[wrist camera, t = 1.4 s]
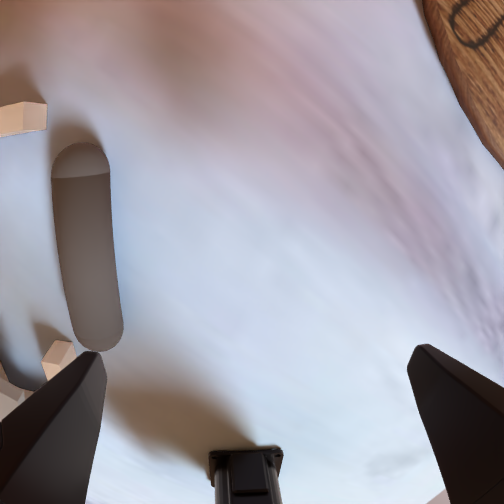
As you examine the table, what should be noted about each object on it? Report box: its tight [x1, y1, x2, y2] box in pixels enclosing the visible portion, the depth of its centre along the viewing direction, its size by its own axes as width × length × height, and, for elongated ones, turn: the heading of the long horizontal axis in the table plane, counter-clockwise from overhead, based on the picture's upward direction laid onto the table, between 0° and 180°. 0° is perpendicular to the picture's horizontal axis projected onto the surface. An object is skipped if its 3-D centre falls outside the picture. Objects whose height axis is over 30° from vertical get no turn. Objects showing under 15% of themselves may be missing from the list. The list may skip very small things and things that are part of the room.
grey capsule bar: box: [51, 143, 123, 352], centre depth 16 cm, size 12×3×3 cm, turn 177°
